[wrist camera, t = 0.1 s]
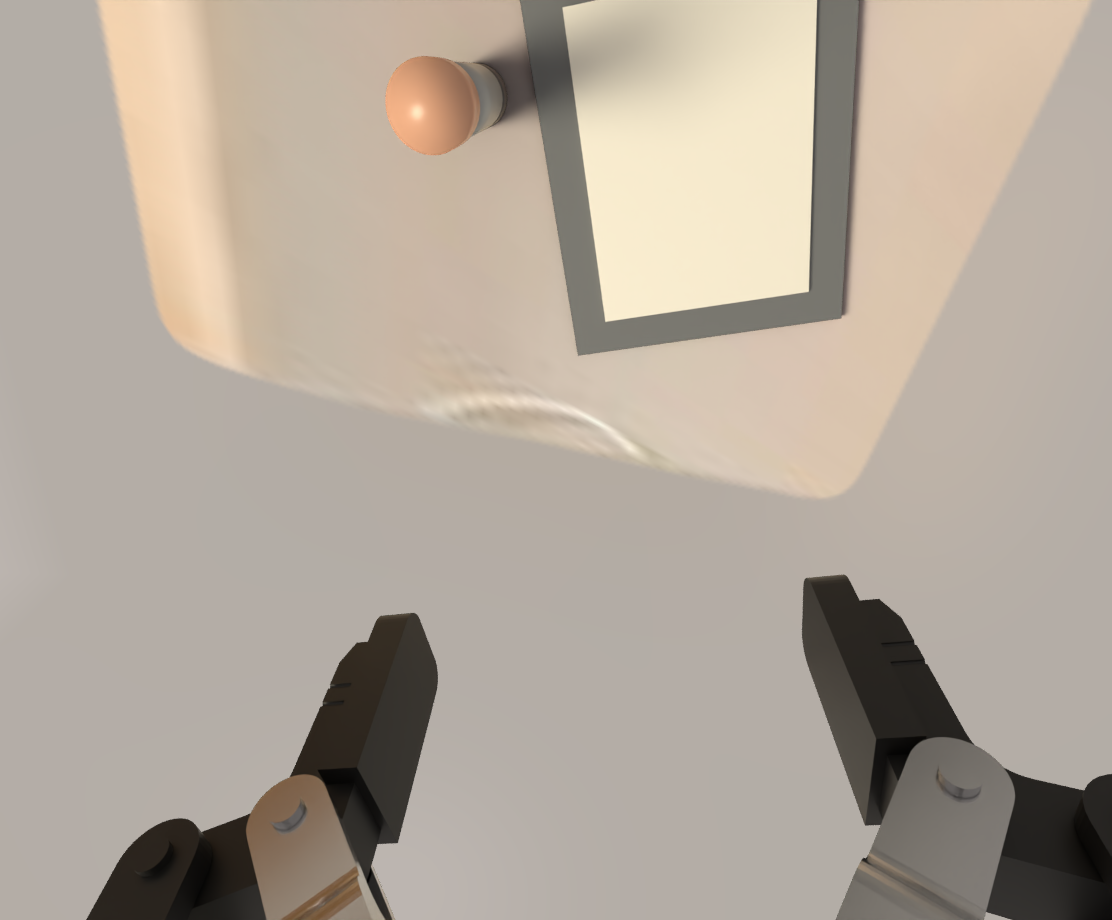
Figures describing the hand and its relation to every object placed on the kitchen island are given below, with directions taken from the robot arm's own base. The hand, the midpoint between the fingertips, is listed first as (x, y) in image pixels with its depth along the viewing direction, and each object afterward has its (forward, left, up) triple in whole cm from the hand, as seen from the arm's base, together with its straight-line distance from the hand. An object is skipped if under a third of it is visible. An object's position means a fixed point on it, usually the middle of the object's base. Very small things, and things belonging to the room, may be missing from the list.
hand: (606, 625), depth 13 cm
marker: (-10, -5, -29) cm, 31 cm away
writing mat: (-5, +6, -29) cm, 30 cm away
